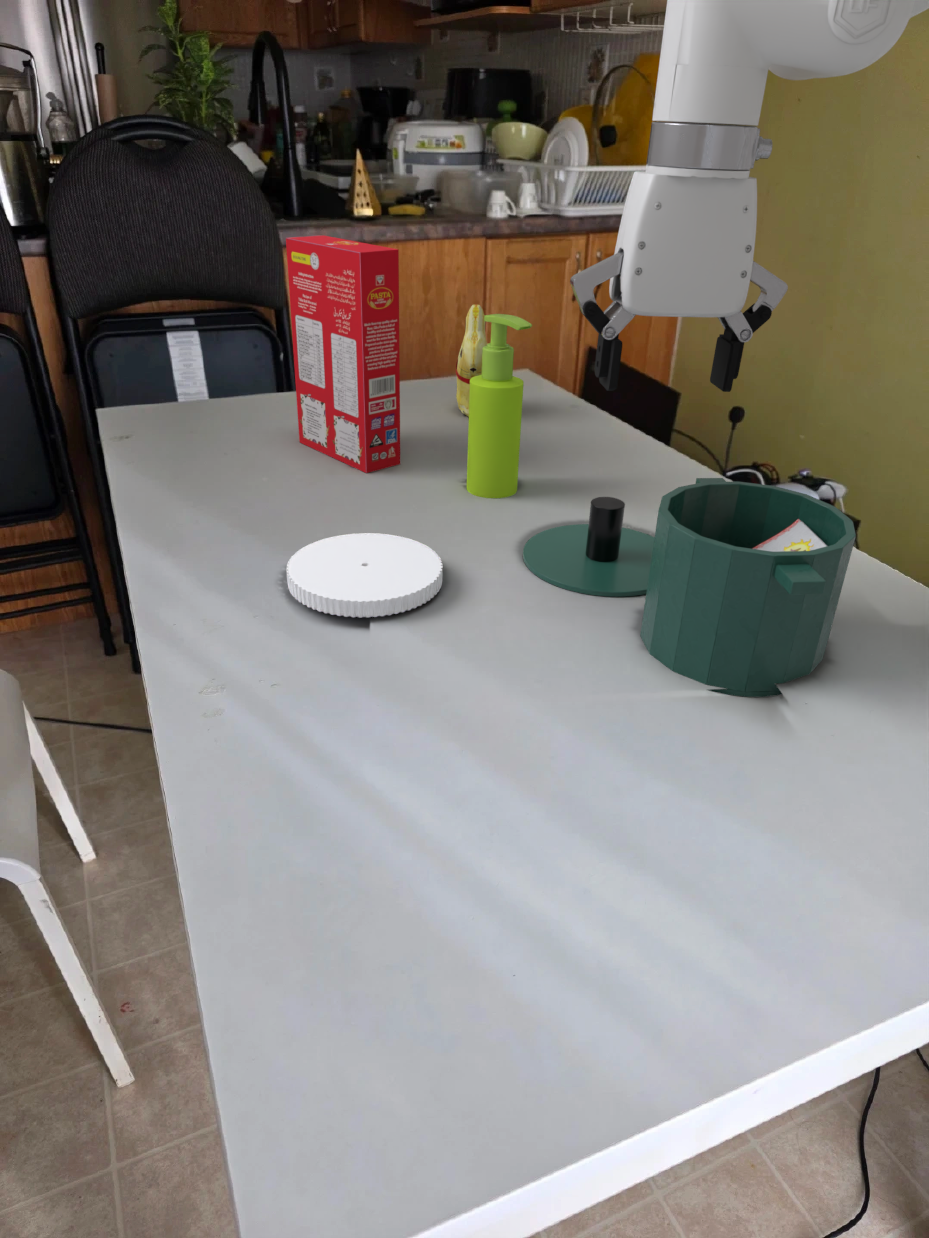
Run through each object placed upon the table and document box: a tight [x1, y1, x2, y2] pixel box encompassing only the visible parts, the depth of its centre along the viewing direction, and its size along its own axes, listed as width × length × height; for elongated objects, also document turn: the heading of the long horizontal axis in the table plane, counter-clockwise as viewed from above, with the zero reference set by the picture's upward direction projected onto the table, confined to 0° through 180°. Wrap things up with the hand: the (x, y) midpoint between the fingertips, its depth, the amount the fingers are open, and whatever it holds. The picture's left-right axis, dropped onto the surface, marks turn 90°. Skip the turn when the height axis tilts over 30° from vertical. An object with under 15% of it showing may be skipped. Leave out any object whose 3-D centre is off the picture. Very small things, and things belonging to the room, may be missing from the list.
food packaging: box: [285, 234, 401, 474], centre depth 107 cm, size 15×5×25 cm, turn 42°
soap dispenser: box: [466, 313, 533, 499], centre depth 97 cm, size 6×7×20 cm
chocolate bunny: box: [455, 303, 488, 418], centre depth 128 cm, size 7×11×15 cm, turn 178°
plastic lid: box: [285, 532, 444, 618], centre depth 80 cm, size 14×14×2 cm
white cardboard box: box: [752, 519, 827, 552], centre depth 71 cm, size 4×7×10 cm
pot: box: [639, 477, 857, 698], centre depth 71 cm, size 14×20×12 cm
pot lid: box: [522, 496, 655, 598], centre depth 85 cm, size 15×15×7 cm
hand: (664, 387), depth 73 cm, fingers open, 9 cm apart
